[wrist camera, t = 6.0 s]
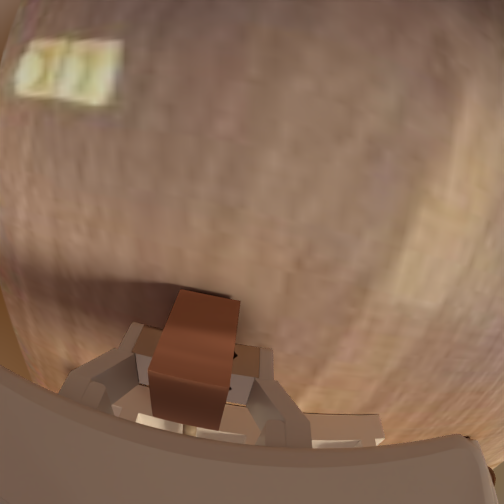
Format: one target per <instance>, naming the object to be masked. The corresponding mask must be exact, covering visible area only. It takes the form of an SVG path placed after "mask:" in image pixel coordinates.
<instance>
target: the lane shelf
mask: <svg viewBox="0 0 504 504" xmlns="http://www.w3.org/2000/svg"><path fill="white" fill-rule="evenodd" d="M111 406H112V409H113V412H114V415H115V416H117V417H120V418H123V419H126V420H130V421H133V422H137V423H140V424H144V425H147V426H151V427H155V428H159V429H163V430H167V431H171V432H176V433H180V434H182V433H183V424H180V423H176V422H171V421H167V420H163V419H159V418H155V417H153V415H152V407H151V399H150V390H149V387H146V386H142V385H137V386H136V387H134V388H133V389H132V390H130V391H129V392H128V393H127V394H125V395H124V396H123V397H121V398H120V399H119V400H118V401H116V402H115V403H114V404H112V405H111ZM303 414H304V415H305V416H306V417H307V419H308V420H309V421H310V427H311V438H312V448H355V447H370V446H377V445H378V444H379V443H380V442H382V441H383V440H384V439H385V436H384V432H383V428H382V424H381V420H380V416H379V415H328V414H308V413H303ZM260 433H261V431H260V429H259V428H258V426H257V424H256V422H255V421H254V419H253V417H252V415H251V414H250V412H249V410H248V408H247V407H241V406H235V405H228V404H225V407H224V411H223V415H222V419H221V423H220V427H219V431H216V430H210V429H204V428H199V427H197V431H196V437H201V438H206V439H212V440H218V441H225V442H232V443H240V444H249V445H255V443H256V441H257V439H258V437H259V435H260Z"/></svg>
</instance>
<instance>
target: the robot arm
mask: <svg viewBox="0 0 504 504" xmlns="http://www.w3.org/2000/svg"><path fill="white" fill-rule="evenodd" d="M162 332H163V329H160V328H156V327H152V326H149V325H144V324H140V323H137V322H133V323H132V324H131V325H130V327H129V329H128V331H127V332H126V334H125V336H124V338H123V340H122V342H121V344H120V346H119V348H118V349H116V348H114V349H112V350H110V351H108V352H106V353H105V354H103V355H101V356H99V357H97V358H95V359H93V360H91V361H90V362H88V363H86V364H84V365H82V366H80V367H78V368H76V369H74V370H72V371H71V372H70V373H69V375H68V377H67V379H66V380H65V382H64V384H63V386H62V388H61V389H60V391H59V393H58V394H57V393H54V392H52V391H50V390H48V389H46V388H43V387H41V386H39V385H37V384H35V383H33V382H31V381H29V380H27V379H25V378H23V377H21V376H19V375H17V374H16V373H14V372H12V371H10V370H9V369H7V368H5V367H3V366H1V365H0V504H495V503H494V497H493V491H492V487H491V482H490V478H489V474H488V470H487V467H486V463H485V460H484V457H483V455H482V453H481V451H480V450H479V449H478V448H477V447H476V446H475V445H473V444H472V443H471V442H470V441H469V440H468V439H466V438H465V437H464V436H462V435H461V434H451V435H446V436H442V437H437V438H431V439H426V440H420V441H414V442H407V443H399V444H391V445H382V446H370V447H355V448H312V438H311V427H310V421H309V420H308V419H307V417H306V416H305V415H304V414H303V413H302V411H301V410H300V409H299V408H298V406H297V405H296V404H295V403H294V401H293V400H292V399H291V398H290V396H289V395H288V394H287V393H286V391H285V390H284V389H283V387H282V386H281V385H280V384H279V382H278V381H275V380H274V370H273V350H272V349H270V348H262V347H260V348H259V347H255V346H248V345H242V344H235V348H234V356H233V364H232V372H231V380H230V388H229V392H228V396H227V400H226V401H227V402H233V403H239V404H245V405H246V407H247V408H248V410H249V412H250V414H251V415H252V417H253V419H254V421H255V422H256V424H257V426H258V428H259V429H260V431H261V433H260V435H259V437H258V439H257V441H256V443H255V445H249V444H240V443H232V442H225V441H218V440H212V439H206V438H201V437H195V436H190V435H185V434H180V433H176V432H171V431H167V430H163V429H159V428H155V427H151V426H147V425H144V424H140V423H137V422H133V421H130V420H126V419H123V418H120V417H117V416H115V415H114V412H113V409H112V406H111V405H112V404H114V403H115V402H116V401H118V400H119V399H120V398H121V397H123V396H124V395H125V394H127V393H128V392H129V391H130V390H132V389H133V388H134V387H136V386H137V385H138V384H139V383H141V384H145V385H149V380H148V367H149V365H150V362H151V360H152V357H153V354H154V352H155V349H156V347H157V344H158V342H159V339H160V337H161V334H162Z"/></svg>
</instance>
